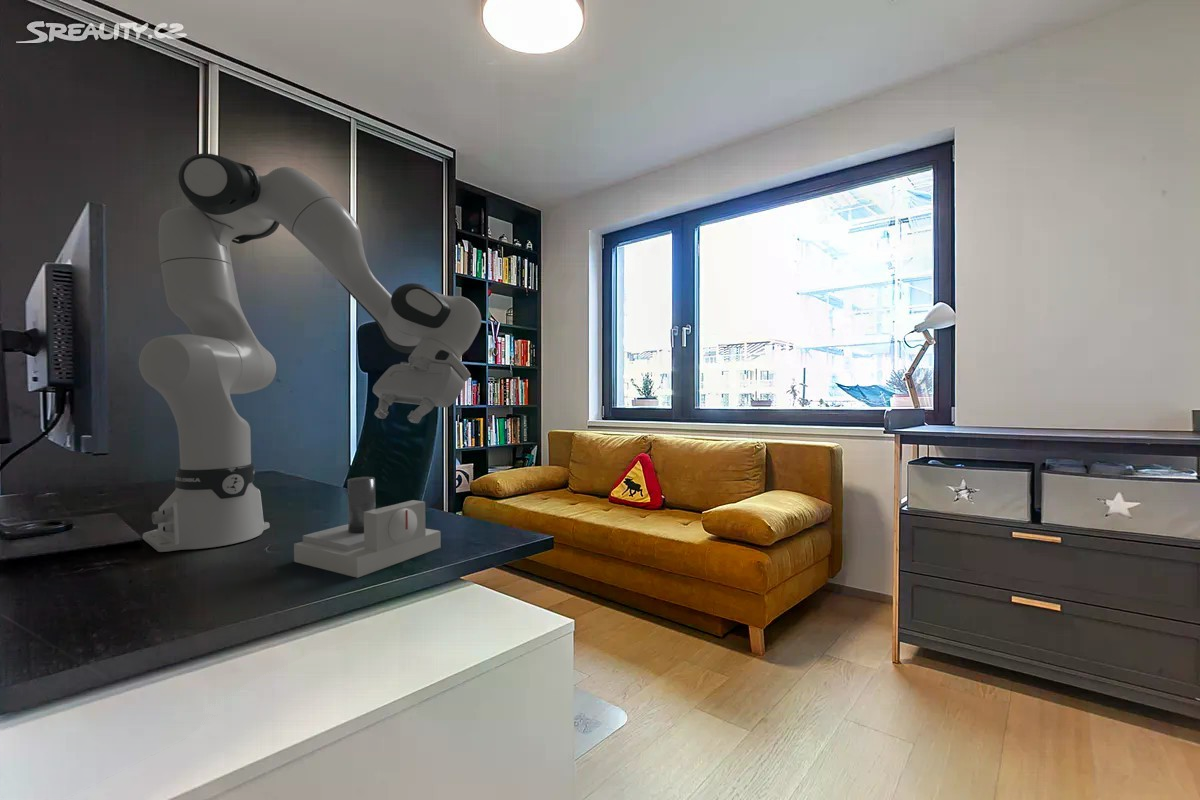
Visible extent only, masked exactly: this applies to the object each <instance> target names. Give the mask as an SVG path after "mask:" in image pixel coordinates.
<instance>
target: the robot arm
mask: <svg viewBox="0 0 1200 800" xmlns="http://www.w3.org/2000/svg"><path fill="white" fill-rule="evenodd" d="M178 183H179V186H180V189H181V191H182V192H183V195H184V196H185V197H186V198H187V200H188V201H189V202H190V203H191V205H188V206H180V207H178V206H177V207H175V208H171V209H168V210H166V211H165V212H163V214H162V215H161V216H160V218H159V225H158V239H157V240H158V258H159V263H160V268H161V269H160V270H161V271H160V272H161V275H162V281H163V287H164V293H165V298H166V304H167V306H168V309H170V311H171V312H172V313H173V314H174V315H175V316H176V317H177V318H179V319H181V320H182V322H184V324H185V325H186V327H187V328H188V330H189V331H190V332H191V334H190V333H180V334H172V335H170V334H169V335H164V336H163V335H162V336H156V337H155V338H153V339H151V340H149V341H148V342H147V343H146V344H145V345H144V346H143V348H142V349H141V352H140V353H139V357H138V368H139V369H138V370H139V372H140V375H141V376H142V379H143V380H144V381H145V382H146V383H147V385H149V386H150V387H151V388H153V389H155V390H156V391H157V392H158V393H159V394H160V395H161V397H163V399H164V400H165V401H166V403H167V405H168V407H169V409H170V411H171V413H172V415H173V419H174V420H175V424H176V427H177V433H178V434H177V435H178V446H179V468H178V469H177V470H176V475H175V478H174V480H175V482H174V488H175V490H174V491H173V492H172V493H171V494H170V496H168V497H167V499H166V500H165V501H164V502H163V503H162V504H161V505H160V506H159V507H158V511H153V512H152V513H151V520H152V524H153V525H157V528H156V529H153V530H149V531H146V532H143V533H142V540H144V541H145V542H146V543H147V544H148V545H150V546H151V548H153V549H154V550H156V551H157V552H158V553H164V552H173V551H180V550H181V551H183V550H198V549H199V550H200V549H208V548H209V549H211V548H216V547H222V546H224V547H225V546H228V545H233V544H238V543H241V542H246V541H249V540H252V539H254V538H255V539H256V537H258V536H261V535H262V534H263V532H265V531H266V530H268V529H269V528H270V527H271V526H270V522H268V521H264V514H263V513H264V512H263V504H262V496H261V495H262V494H261V491H260V489H259V488H258V487H256V486H255V485H254V484H253V482H254V481H255V473H256V471H255V469H254V468H255V466H254V463H253V462H252V439H251V438H252V437H251V432H252V431H251V430H252V429H251V425H250V423H249V422H248V421H247V420H246V419H245V418H243V417H242V416H240V414H239V413H238V412H237V409H236V408H235V406H234V403H233V401H232V397H231V395H244V394H250V393H252V392H257V391H259V390H263V389H265V388H267V387H268V386H269V385H271V383H272V382H273V381H274V378H275V376H276V374H277V373H276V372H277V364H276V360H275V358H274V356H273V355H272V353H271V352H270V351H269V350H268V349H266V347H264V346H263V345H262V344H261V342H260V341H259V340H258V338H257V337H256V335H255V334H254V331H253V330H252V328H251V326H250V324H249V322H248V320H247V318H246V316H245V314H244V312H243V308H242V307H241V303H240V298H239V295H238V289H237V283H236V280H235V279H236V278H235V274H234V269H233V268H234V267H233V263H232V256H231V249H230V248H231V247H230V246H231V243H236V244H239V245H241V244H245V243H247V242H250V241H252V240H259V239H263V238H266V237H268V236H271V235H273V233H275V232H276V231H277V230H278V228H279V225H281V226H282V227H284V228H285V229H286V230H287V231H288V232H289V233H290V234H291V235H292V236H293V237H294V238H296V239H297V241H299V242H300V243H301V244H302V245H303V246H304V248H306V249H307V250H308V251H309V252H310V253H311V254H312V255H313V256H314V257H315V258H317V260H319V262H321V264H322V265H323V266H324V267H325V268H326V269H327V270H328V271H329V272H330V273H331V275H333V277H334V278H335V279H336V280H337V281H338V282H339V284H341V286H342V287H343V288H344V289H345V291H346V292H347V293H348V294H349V295H350V296H351V297H352V298H353V299H354V300H355V302H357V303H358V304H359V305H360V306H361V307H362V308H363V310H365V312H366V313H367V314H368V315H369V316H370V317H371V318H372V319H373V320H374V321H375V323H376V324H377V325H378V327H379V330H380V331H381V334H382V336H383V338H384V341H385V342H386V343H387V345H388V346H390V348H392V349H393V350H395V351H397V352H399V353H402V354H409V356H408V358H407V360H408V361H407V362H406V361H400V363H397V364H393V365H391V366H390V367H388V368H387V370H385V371H384V373H383V374H382V375H381V376H380V377H379V378H378V380H376V382H375V383H374V385H373V387H372V393H373V394H374V395H375V396H376V397H377V398H378V407H377V408H376V409H375V411H374V413H373V414H374V416H375V417H377V418H378V419H383V420H384V419H387V416H388V415H389V413H390V412H389V410H388V409H389V406H392V405H393V403H401V404H409V405H416V406H417V405H419V406H417V407H416V408H415V409H414V410H410V411H409V413H408V415H407V416H406V417H407V420H408V421H409V423H413V424H419V423H420V421H421V420H422V418H423V417H425V416H426V415H427V414H429V413H430V412H431V411H433V409H434V408H435V407H438V408H449V407H450V406H451V405H453V404H455V402H456V401H457V399H458V397H459V395H460V394H461V393H462V390H463V389H464V386H465V383H466V382H467V381H468V380H469V379H470V378H471V375H472V374H471V373H470V371H469V369H468V368H467V367H466V366H465V365H464V364H463V362H462V361H461V359H462V356H463V355H464V354H465V352H466V351H468V350H469V349H470V347H471V346H472V344H473V342H474V340H475V338H476V337H477V335H478V333H479V331H480V329H481V325H482V315H481V312H480V309H479V308H478V307H477V306H476V304H475V303H474V302H473V301H471V300H470V299H469V298H467V297H464V296H461V295H447V294H446V295H445V294H442V293H438V292H436V291H433V290H432V289H430V288H428V287H427V286H425V285H423V284H420V283H413V282H412V283H405V284H402V285H400V286H398V287H397V288H396V289H395V290H394V291H393V292H392V294H391V293H390V292H389V291H388V290H387V289H386V288H385V287H384V286H383V285H382V284H381V282H380V281H379V280H378V279H377V278H376V276H375V275H374V274H373V272H372V270H371V269H370V267H369V265H368V261H367V258H366V253H365V249H364V243H363V236H362V233H361V229H360V226H359V225H358V223H357V221H356V220H355V219H354V217H353V216H352V214H351V213H350V212H349V211H348V210H347V209H346V208H345V206H343V205H342V204H341V203H340V202H339V201H338V200H337V199H336V198H335V197H334V196H333V195H332V194H331V193H330V192H328V191H327V190H326V189H325V188H324V187H323V186H321V185H320V184H318V182H316V181H314V180H313V179H312V178H311V177H309V176H308V175H307V174H304V173H303V172H301V171H300V170H298V169H296V168H293V167H288V166H284V167H282V166H281V167H279V168H275V169H273V170H272V171H270V172H269V173H267V174H266V175H259V174H258V173H257V171H256V170H255V168H254V167H252V166H250V165H247V164H244V163H241V162H238V161H235V160H232V159H229V158H227V157H224V156H221V155H217V154H214V153H205V152H204V153H197V154H195V155H192V156H190V157H189V158H187V159H186V160H185V161H184V162H183V163H182V165H181V166H180V168H179V171H178Z"/></svg>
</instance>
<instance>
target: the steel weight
mask: <svg viewBox="0 0 1200 800" xmlns="http://www.w3.org/2000/svg"><path fill="white" fill-rule="evenodd" d="M376 505H377V504H376V478H375V477H374V476H360V477H359V476H358V477H352V478H349V479H347V524H348V532H349V533H364V512H366V511H370V510H374V509H377V508H376V507H377V506H376Z"/></svg>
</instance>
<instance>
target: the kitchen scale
mask: <svg viewBox="0 0 1200 800" xmlns="http://www.w3.org/2000/svg"><path fill="white" fill-rule="evenodd" d="M441 531H442V530H438V529H433V528H432V529H431V528H426V501H423V500H415V499H412V500H407V501H404V502H399V503H396V504H391V505H388V506H382V507H378V508H376V509H374V510H370V511H366V512H364V533H349V532H348V523H346V524H344V525H343V524H342V525H338V526H334V527H330V528H327V529H322V530H319V531H314V532H312V533H308V534H304V535H302V541H300V542H296V543H293V561H294V562H295V563H298V564H302V565H306V566H310V567H313V568H318V569H322V570H325V571H330V572H333V573H337V574H341V575H345V576H348V577H353V578H360V577H363V576H366V575H369V574H371V573H375V572H378V571H380V570H383V569H386V568H388V567H392V566H394V565H396V564H399V563H402V562H405V561H407V560H410V559H413V558H416V557H418V556H421V555H423V554H424V555H425V554H427V553H430V552H432V551H436V550H438V549H441V548H442V547H441V543H442V542H441V541H442V539H441V534H442V532H441ZM294 562H293V563H294Z"/></svg>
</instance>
